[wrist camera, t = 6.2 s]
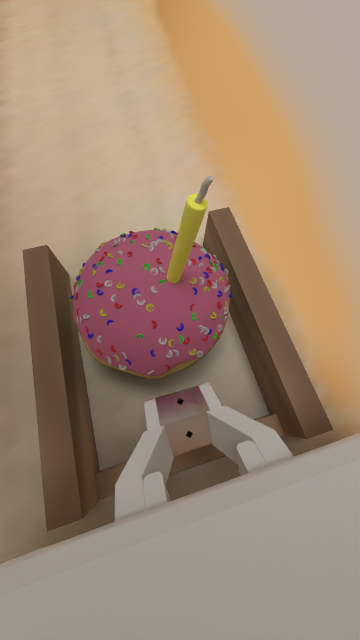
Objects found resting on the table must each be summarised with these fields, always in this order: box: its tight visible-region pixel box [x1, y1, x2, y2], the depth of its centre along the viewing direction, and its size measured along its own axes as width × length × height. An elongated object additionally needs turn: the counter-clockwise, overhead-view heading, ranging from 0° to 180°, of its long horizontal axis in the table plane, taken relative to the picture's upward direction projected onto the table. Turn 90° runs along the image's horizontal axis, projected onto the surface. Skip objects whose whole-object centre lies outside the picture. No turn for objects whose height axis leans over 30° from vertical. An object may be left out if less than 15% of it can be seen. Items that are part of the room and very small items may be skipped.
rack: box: [23, 207, 333, 531], centre depth 16 cm, size 14×15×4 cm
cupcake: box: [70, 176, 232, 379], centre depth 12 cm, size 9×8×12 cm
